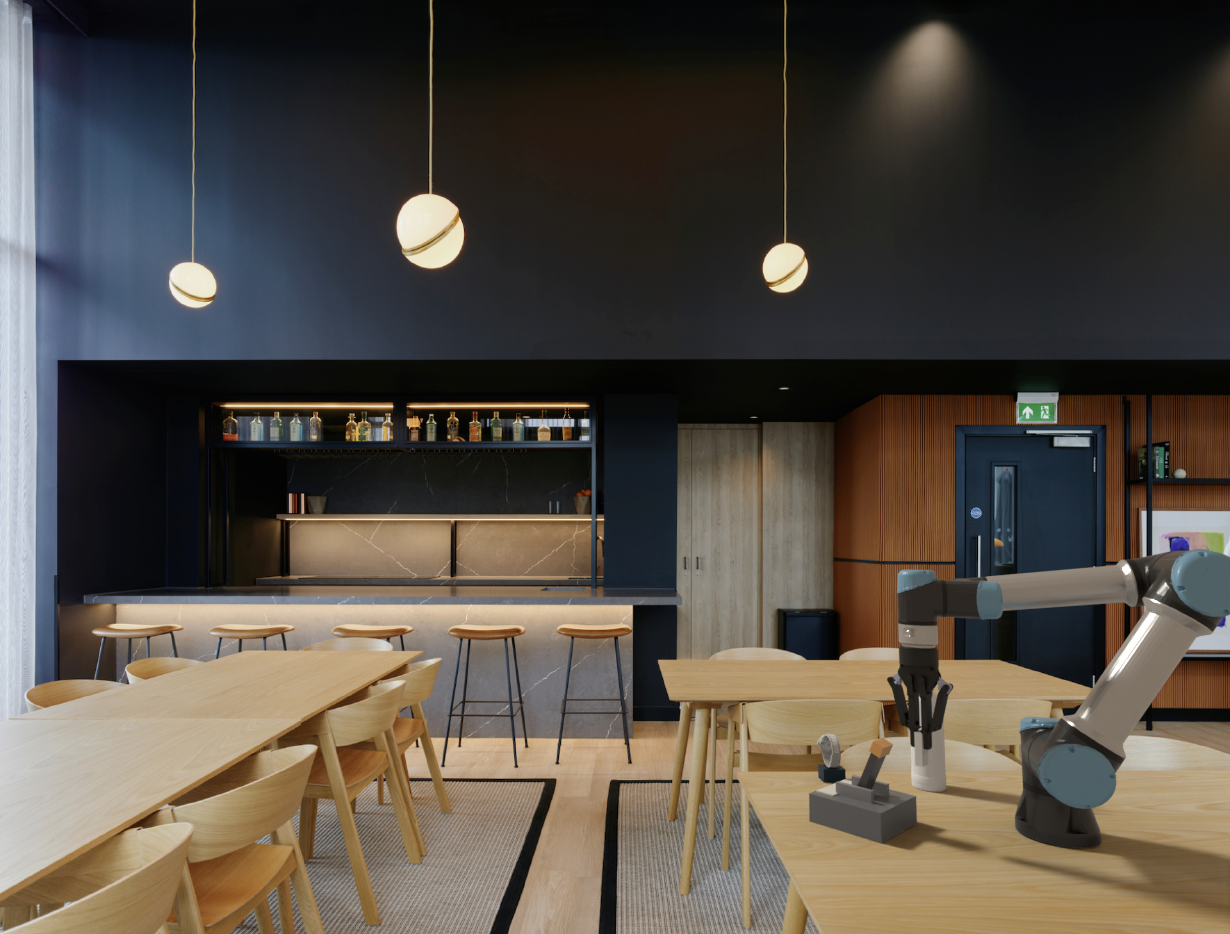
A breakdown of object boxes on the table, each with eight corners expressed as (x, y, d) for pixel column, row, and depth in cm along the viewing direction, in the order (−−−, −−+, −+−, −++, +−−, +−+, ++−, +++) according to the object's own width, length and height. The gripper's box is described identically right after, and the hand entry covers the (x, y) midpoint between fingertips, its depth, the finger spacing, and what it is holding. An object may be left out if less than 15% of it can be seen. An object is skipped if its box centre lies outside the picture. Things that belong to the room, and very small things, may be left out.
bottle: (912, 790, 178) (909, 663, 182) (909, 780, 186) (906, 659, 189) (948, 793, 176) (944, 665, 179) (944, 784, 183) (940, 660, 187)
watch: (836, 774, 189) (836, 730, 191) (848, 784, 181) (847, 738, 183) (815, 774, 189) (814, 730, 190) (825, 784, 181) (825, 738, 182)
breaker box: (916, 823, 156) (915, 784, 157) (881, 843, 145) (880, 800, 146) (847, 804, 167) (846, 767, 168) (809, 820, 156) (809, 781, 157)
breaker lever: (874, 790, 157) (893, 744, 155) (864, 794, 154) (883, 748, 152) (864, 783, 159) (883, 737, 157) (854, 787, 156) (873, 741, 154)
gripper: (879, 643, 153) (882, 761, 150) (942, 650, 144) (947, 776, 141) (895, 641, 158) (898, 754, 155) (958, 647, 149) (962, 768, 146)
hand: (921, 764), depth 148 cm, fingers closed
